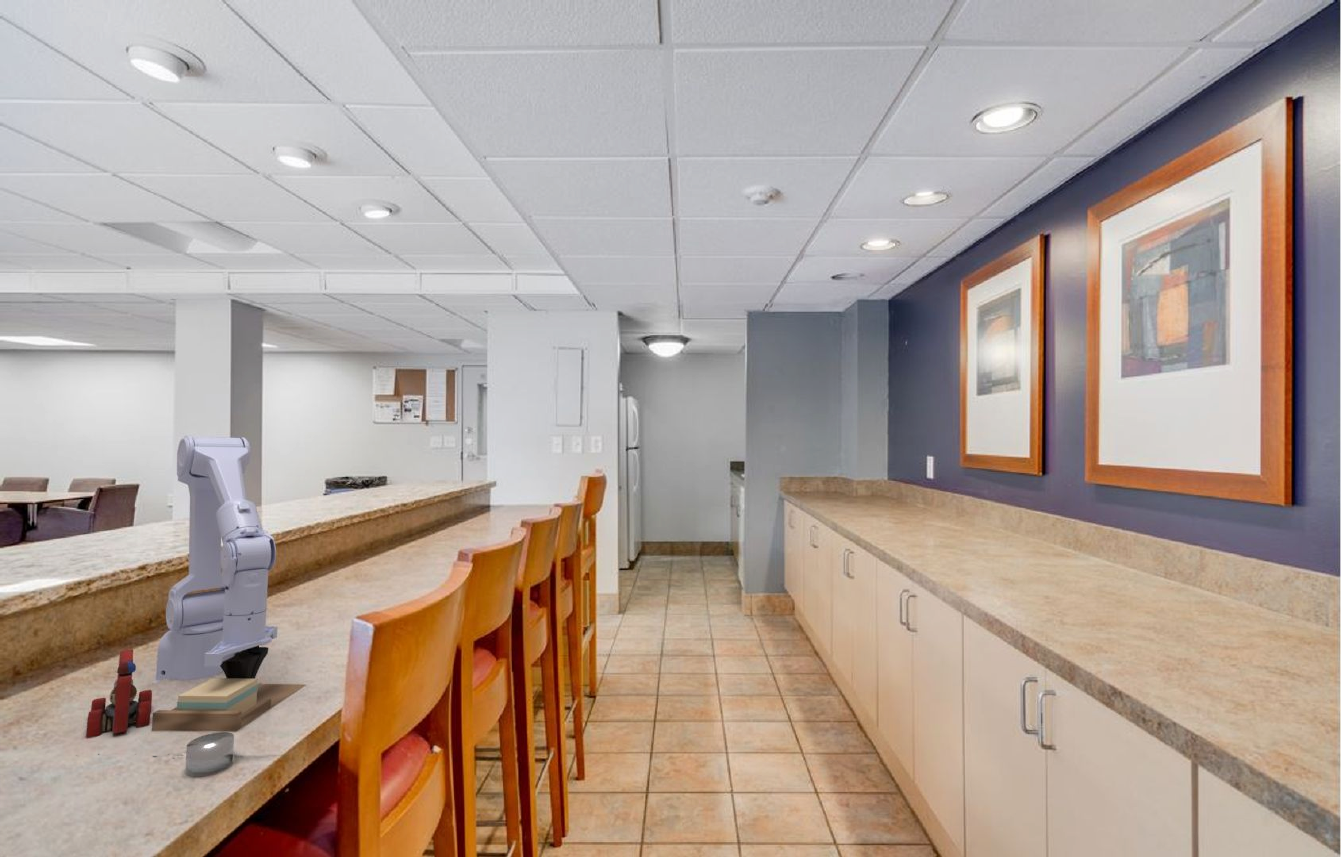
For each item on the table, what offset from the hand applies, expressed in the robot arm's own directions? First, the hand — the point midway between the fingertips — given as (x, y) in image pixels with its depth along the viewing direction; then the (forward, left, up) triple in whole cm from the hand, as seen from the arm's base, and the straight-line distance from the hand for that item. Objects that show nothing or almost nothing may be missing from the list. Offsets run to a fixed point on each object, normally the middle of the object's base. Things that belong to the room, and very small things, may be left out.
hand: (240, 696), depth 98 cm
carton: (0, -5, -1) cm, 5 cm away
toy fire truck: (-13, -7, -2) cm, 15 cm away
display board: (0, -1, -2) cm, 2 cm away
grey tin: (+8, -18, -2) cm, 20 cm away
